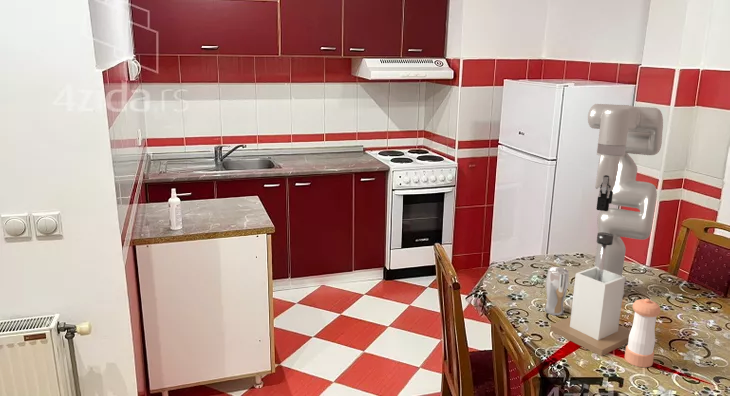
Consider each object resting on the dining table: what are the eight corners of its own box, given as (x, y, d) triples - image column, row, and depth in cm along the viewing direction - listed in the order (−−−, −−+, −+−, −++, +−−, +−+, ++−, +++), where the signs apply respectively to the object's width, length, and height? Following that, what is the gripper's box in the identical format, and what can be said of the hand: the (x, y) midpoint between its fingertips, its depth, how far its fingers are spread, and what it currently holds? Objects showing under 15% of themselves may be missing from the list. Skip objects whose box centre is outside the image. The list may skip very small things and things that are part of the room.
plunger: (594, 289, 174) (601, 229, 169) (616, 298, 168) (624, 235, 163) (579, 294, 170) (586, 233, 165) (601, 304, 164) (609, 240, 159)
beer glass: (566, 317, 184) (571, 275, 180) (544, 314, 185) (548, 273, 181) (563, 307, 190) (567, 267, 187) (542, 305, 192) (546, 265, 188)
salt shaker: (619, 354, 162) (628, 294, 157) (643, 353, 162) (652, 293, 157) (633, 368, 155) (642, 305, 150) (658, 366, 155) (668, 304, 150)
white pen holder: (585, 316, 185) (592, 260, 179) (636, 339, 170) (645, 278, 165) (550, 330, 175) (556, 271, 170) (601, 356, 161) (609, 292, 155)
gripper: (600, 145, 170) (594, 198, 175) (593, 153, 156) (586, 211, 160) (627, 147, 167) (620, 201, 171) (622, 155, 152) (615, 215, 157)
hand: (604, 206), depth 166 cm, fingers open, 9 cm apart
